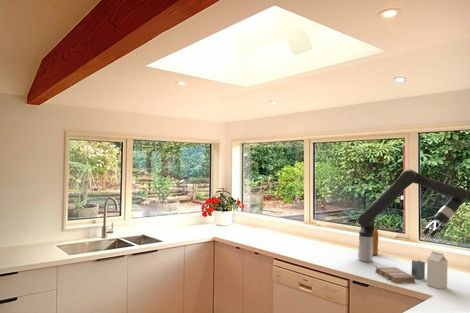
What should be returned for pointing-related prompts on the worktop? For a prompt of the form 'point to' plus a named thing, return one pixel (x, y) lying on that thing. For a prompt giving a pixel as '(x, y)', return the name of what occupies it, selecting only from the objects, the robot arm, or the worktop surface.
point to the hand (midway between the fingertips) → (427, 234)
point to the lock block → (418, 269)
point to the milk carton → (437, 270)
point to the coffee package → (375, 241)
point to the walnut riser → (395, 274)
